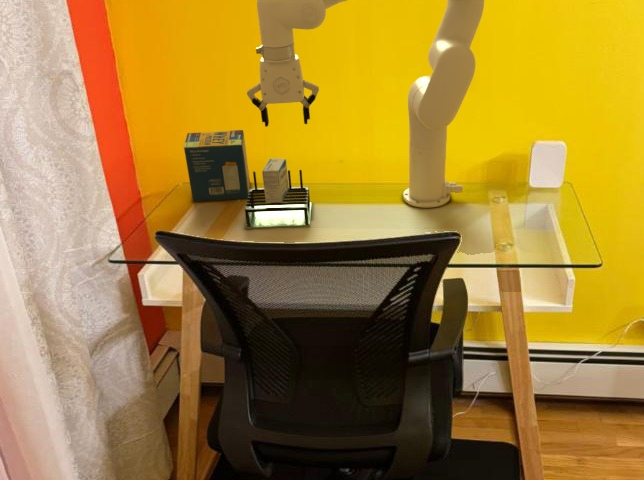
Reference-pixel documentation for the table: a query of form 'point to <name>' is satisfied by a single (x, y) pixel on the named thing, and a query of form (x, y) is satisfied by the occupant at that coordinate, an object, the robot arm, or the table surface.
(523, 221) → the table surface
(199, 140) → the protein box
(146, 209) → the table surface
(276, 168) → the medicine box
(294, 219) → the dish rack
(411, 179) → the robot arm
